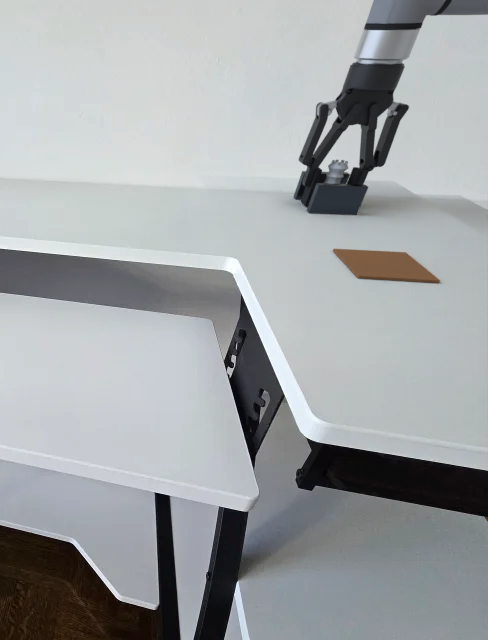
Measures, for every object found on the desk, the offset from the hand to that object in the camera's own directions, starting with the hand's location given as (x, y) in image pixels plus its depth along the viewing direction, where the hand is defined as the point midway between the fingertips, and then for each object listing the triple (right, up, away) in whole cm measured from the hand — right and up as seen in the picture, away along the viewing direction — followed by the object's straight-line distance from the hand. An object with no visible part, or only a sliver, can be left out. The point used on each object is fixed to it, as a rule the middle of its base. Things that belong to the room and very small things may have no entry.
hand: (324, 204), depth 94 cm
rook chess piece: (0, 0, 0) cm, 1 cm away
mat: (-7, -17, -22) cm, 29 cm away
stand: (0, 0, 0) cm, 0 cm away
